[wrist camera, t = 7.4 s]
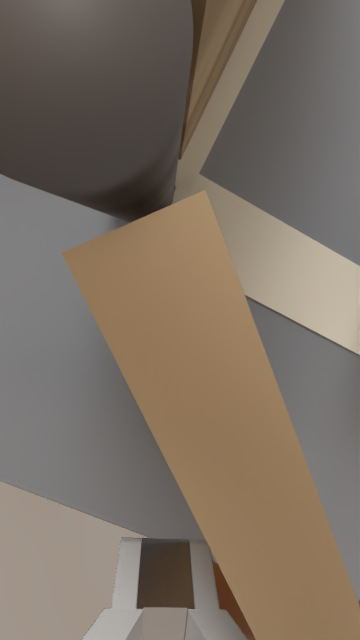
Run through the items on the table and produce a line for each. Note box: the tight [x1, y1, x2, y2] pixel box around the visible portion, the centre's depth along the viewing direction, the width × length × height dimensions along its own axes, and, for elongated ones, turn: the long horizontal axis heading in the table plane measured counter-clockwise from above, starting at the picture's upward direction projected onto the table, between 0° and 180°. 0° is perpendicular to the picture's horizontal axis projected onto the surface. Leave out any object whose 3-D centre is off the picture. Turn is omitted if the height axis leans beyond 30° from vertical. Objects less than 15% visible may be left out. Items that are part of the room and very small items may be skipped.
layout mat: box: [0, 0, 360, 601], centre depth 10 cm, size 22×22×1 cm
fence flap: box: [62, 190, 360, 640], centre depth 7 cm, size 1×9×7 cm, turn 23°
